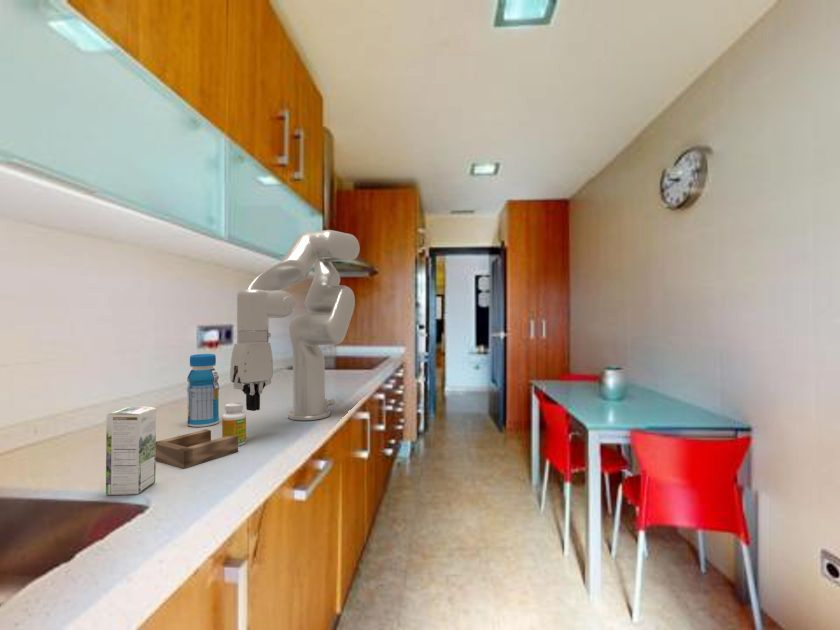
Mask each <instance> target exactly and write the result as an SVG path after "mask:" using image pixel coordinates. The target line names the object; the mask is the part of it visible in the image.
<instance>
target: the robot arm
mask: <svg viewBox="0 0 840 630" xmlns="http://www.w3.org/2000/svg"><path fill="white" fill-rule="evenodd" d="M360 249H361V248H360V243H359V240H358V239H357V237H356V236H355V235H353V234H351V233H346V232H342V231H338V230H332V229H324V230H311V231H310V230H309V231H305V232H302V233H300V234H299V235H298V236H297V237H296V239H295V240H294V242H293V243H292V244H291V246H290V248H289V249H288V251H287V252H286V254H285V255H284V256H283V258H282V259H281V260H280V261H279V262H277V263H276V264H274V265H272V266H270V268H268V269H266V270H265V271H263V272H262V273H260V274H259V275H257V277H255V278H254V279H253V280H252V281H251V283H250V284H249V286H248V287H247V288H245V289H240V290H239V291H238V292H237V295H236V296H237V297H236V323H237V324H236V327H237V329H236V337H237V338H236V343H234V344H233V348H232V352H231V359H230V371H229V373H230V374H229V375H230V376H229V379H230V382H231V383H233V389H235V390H241V391H242V393H243V395H245V407H246V410H247V411H252V412H255V411H260V410H261V394H263V391H264V388H265V387H266V386H268V385H270V384H271V383H272V380H271V379H272V378H273V376H274V361H273V351H272V345H271V343H270V341H269V339H270V338H271V337H272V334H271V333H270V332H269V328H270V327H269V326H270V325H269V322H270V321H269V320H270V319H281V318H282V319H284V318H286V317H289V316H290V315H291V314H292V313H293V312H294V311H295V308H296V301H295V299H294V297H293V295H292V294H291V292H290V293H289V292H288V291H286V290H282V289H285V288H288V287H290V286H293V285H296V284H299V283H301V282H302V281H304V280H306V279H307V278H308V276H309V274H310V272H312V269H313V268H314V275H313V276H314V277H313V279H312V282H311V285H310V286H309V289H308V292H307V294H306V297H305V300H304V307H305V311H307V313H301V314H298V315H295V316H294V317H293V318H292V319H291V320H290V322H289V326H288V332H289V337H290V341H291V342H290V343H291V350H292V383H293V384H292V385H293V386H292V390H293V391H292V392H293V395H292V404H293V405H292V406H293V408H292V410H291V411H289V412H288V413H287V418H289V420H293V421H314V420H315V421H316V420H321V419H325V418H328V417H330V416H331V411H330V409H328V407H329V406H334V405H335V404H336V403H335V399H333V398H330V399H326V386H325V385H326V382H325V381H326V378H325V376H326V375H325V374H326V373H325V372H326V371H325V369H326V368H325V367H326V364H325V363H326V359H325V355H324V353H323V351H322V349H321V347H320V346H334V345H335V346H336V345H339V344H341V343H342V342H343V341H344V340H345V337H346V335H347V332H348V329H349V326H350V323H351V320H352V317H353V314H354V310H355V305H356V300H355V294H354V291H353V290H352V289H351V288H350V287H349V286H347V285H342V284H341V285H340V283H341V276H340V274H339V272H338V270H337V269H336V267H335V266H334V264H333V263H332V262H347V261H349V262H350V261H354V260H355V259H357V258H358V256H359V254H360Z"/></svg>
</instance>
